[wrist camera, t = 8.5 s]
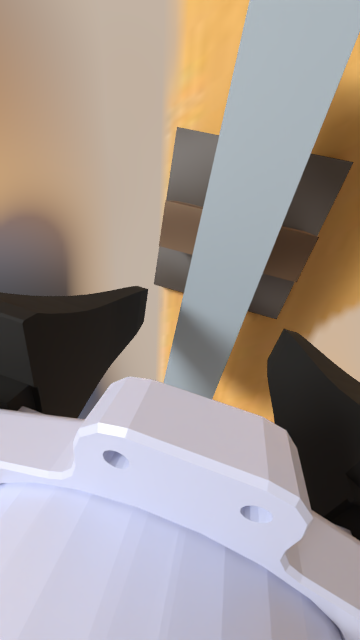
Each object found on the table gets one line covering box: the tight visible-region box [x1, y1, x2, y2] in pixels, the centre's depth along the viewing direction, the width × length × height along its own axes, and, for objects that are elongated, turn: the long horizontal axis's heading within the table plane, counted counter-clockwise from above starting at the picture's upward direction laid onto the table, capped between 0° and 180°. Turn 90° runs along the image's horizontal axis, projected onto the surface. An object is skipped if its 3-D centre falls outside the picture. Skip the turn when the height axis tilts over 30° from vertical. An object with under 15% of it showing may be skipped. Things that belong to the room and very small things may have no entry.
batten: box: [164, 0, 360, 399], centre depth 13 cm, size 24×4×5 cm, turn 168°
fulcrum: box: [154, 127, 353, 319], centre depth 17 cm, size 12×12×4 cm
